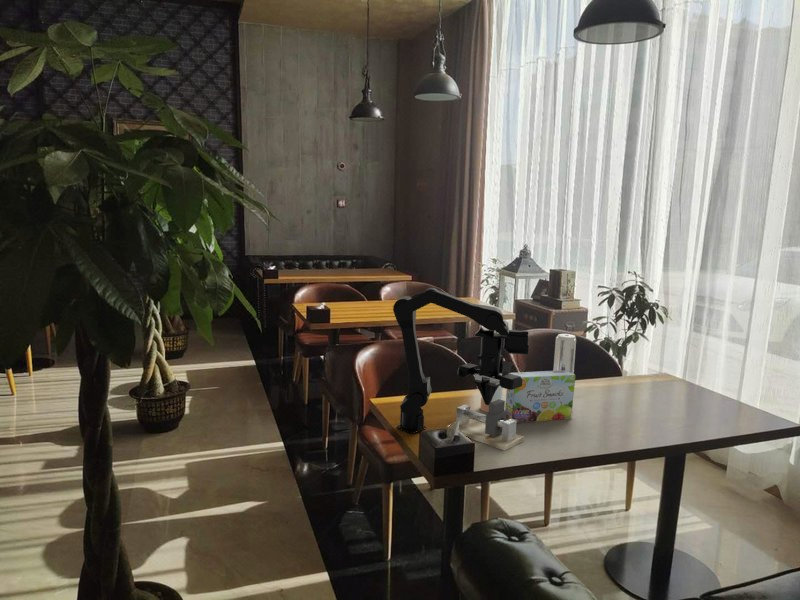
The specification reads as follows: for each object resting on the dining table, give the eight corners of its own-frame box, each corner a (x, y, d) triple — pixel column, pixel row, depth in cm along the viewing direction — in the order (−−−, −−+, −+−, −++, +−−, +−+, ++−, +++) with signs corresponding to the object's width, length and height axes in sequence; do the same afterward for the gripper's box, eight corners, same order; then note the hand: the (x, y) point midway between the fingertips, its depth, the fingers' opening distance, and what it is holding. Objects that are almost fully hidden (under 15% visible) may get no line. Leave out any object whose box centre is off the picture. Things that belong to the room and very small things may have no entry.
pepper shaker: (496, 414, 181) (499, 357, 178) (476, 409, 185) (479, 352, 182) (506, 409, 187) (510, 352, 184) (487, 404, 191) (490, 349, 188)
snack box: (512, 424, 173) (515, 377, 171) (503, 418, 178) (506, 372, 176) (572, 419, 179) (576, 373, 177) (562, 413, 184) (566, 368, 182)
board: (447, 429, 167) (447, 425, 167) (467, 421, 174) (467, 417, 174) (504, 450, 154) (505, 446, 153) (523, 440, 161) (524, 436, 161)
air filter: (568, 404, 193) (574, 333, 189) (572, 411, 186) (578, 337, 182) (549, 403, 193) (554, 332, 189) (552, 410, 187) (558, 336, 183)
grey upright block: (484, 433, 160) (486, 403, 159) (496, 427, 164) (498, 398, 163) (493, 436, 158) (495, 405, 157) (505, 430, 162) (507, 400, 161)
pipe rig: (456, 424, 168) (456, 407, 168) (464, 421, 171) (464, 404, 170) (507, 442, 156) (508, 424, 155) (515, 438, 159) (516, 420, 158)
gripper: (534, 354, 159) (530, 406, 162) (480, 341, 172) (477, 391, 174) (513, 360, 151) (509, 416, 154) (457, 347, 164) (455, 398, 166)
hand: (487, 404), depth 162 cm, fingers closed
